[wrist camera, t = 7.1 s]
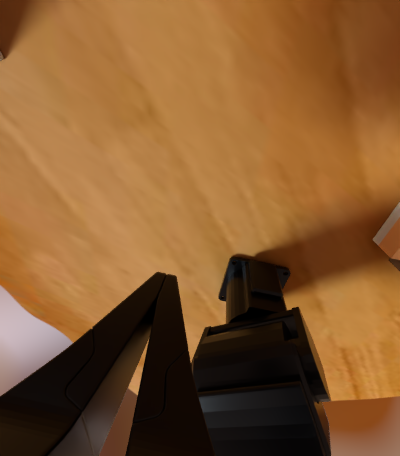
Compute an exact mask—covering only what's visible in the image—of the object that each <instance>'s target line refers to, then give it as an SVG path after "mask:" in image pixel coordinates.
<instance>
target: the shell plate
mask: <svg viewBox="0 0 400 456" xmlns="http://www.w3.org/2000/svg"><path fill="white" fill-rule="evenodd" d="M373 241H374V242H375V243H376V244H377V245H378V246H379V247H380V248H381V249H382V250H383V251H384V252H385V253H386V254H387V255H388V256H389V257H390V258H392V259H397V260H400V202H399V203H398V205H397V206H396V207H395V209H394V210H393V212H392V213H391V214H390V216H389V217H388V219H387V220H386V221H385V223H384V224H383V226H382V227H381V228H380V230H379V231H378V233H377V234H376V235H375V237H374V238H373Z"/></svg>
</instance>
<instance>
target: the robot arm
mask: <svg viewBox="0 0 400 456" xmlns="http://www.w3.org/2000/svg"><path fill="white" fill-rule="evenodd" d="M232 261H236V262H232ZM284 272H286V273H284ZM289 276H290V270H289V269H288V268H286V267H282V266H277V265H273V264H268V263H263V262H258V261H253V260H248V259H243V258H238V257H231V258H230V259H229V263H228V266H227V269H226V272H225V276H224V279H223V282H222V285H221V289H220V292H219V299H220V300H221V301H226V324H224V325H219V326H215V327H211V326H210V327H205V329H204V332H203V334H202V337H201V339H200V342H199V344H198V347H197V349H196V352H195V354H194V357H193V360H192V363H191V362H190V356H189V351H188V344H187V338H186V332H185V326H184V320H183V313H182V307H181V301H180V295H179V288H178V282H177V277H176V276H175V275H170V274H167V275H166V274H165V273H161V272H156V273H155V274H154V275H153V276H152V277H151V278H149V279H148V280H147V281H146V282H145V283H144V284H142V285H141V286H140V287H139V288H138V289H136V290H135V291H134V292H133V293H132V294H131V295H129V296H128V297H127V298H126V299H125V300H124V301H122V302H121V303H120V304H119V305H118V306H117V307H115V308H114V309H113V310H112V311H111V312H110V313H108V314H107V315H106V316H105V317H104V318H103V319H101V320H100V321H99V322H98V323H97V324H96V325H94V326H93V328H92V329H93V330H92V329H90V330H88V331H87V332H86V333H85V334H84V335H83V336H81V337H80V338H79V339H78V340H77V341H75V342H74V343H73V344H72V345H70V346H69V347H68V348H67V349H66V350H64V351H63V352H61V353H60V354H59V355H57V356H56V357H55V358H53V359H52V360H51V361H49V362H48V363H46V364H45V365H44V366H42V367H41V368H39V369H38V370H37V371H35V372H34V373H32V374H31V375H30V376H28V377H27V378H25V379H24V380H23V381H21V382H20V383H18V384H17V385H16V386H14V387H13V388H11V389H10V390H9V391H7V392H6V393H4V394H3V395H2V396H0V456H99V454H100V452H101V450H102V447H103V445H104V443H105V440H106V438H107V436H108V433H109V431H110V428H111V426H112V424H113V421H114V419H115V417H116V414H117V412H118V410H119V407H120V405H121V403H122V400H123V398H124V396H125V393H126V390H127V388H128V386H129V384H130V381H131V379H132V377H133V374H134V372H135V370H136V367H137V365H138V363H139V360H140V358H141V355H142V353H143V351H144V348H145V346H146V344H147V341H148V339H149V342H148V347H147V352H146V357H145V362H144V367H143V372H142V377H141V382H140V387H139V392H138V397H137V403H136V408H135V412H134V417H133V423H132V427H131V432H130V437H129V442H128V446H127V451H126V455H125V456H331V447H330V432H329V422H328V419H327V416H326V413H325V410H324V407H323V404H322V402H328V401H331V398H330V394H329V390H328V386H327V382H326V378H325V374H324V370H323V367H322V364H321V361H320V358H319V355H318V353H317V350H316V347H315V344H314V342H313V339H312V337H311V334H310V332H309V330H308V327H307V325H306V323H305V321H304V318H303V316H302V314H301V311H300V309H299V307H295V308H292V310H287V308H286V305H285V301H284V297H283V291H282V289H283V287H284V285H285V283H286V282H287V280H288V278H289ZM222 296H224V297H222Z"/></svg>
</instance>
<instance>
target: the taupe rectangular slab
mask: <svg viewBox="0 0 400 456" xmlns="http://www.w3.org/2000/svg"><path fill="white" fill-rule="evenodd" d="M389 261H390V262H391V263H392V264H393V265H394V266H395V267H396V268H397V269H398V270H399V271H400V260H397V259H392V258H390V259H389Z"/></svg>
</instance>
